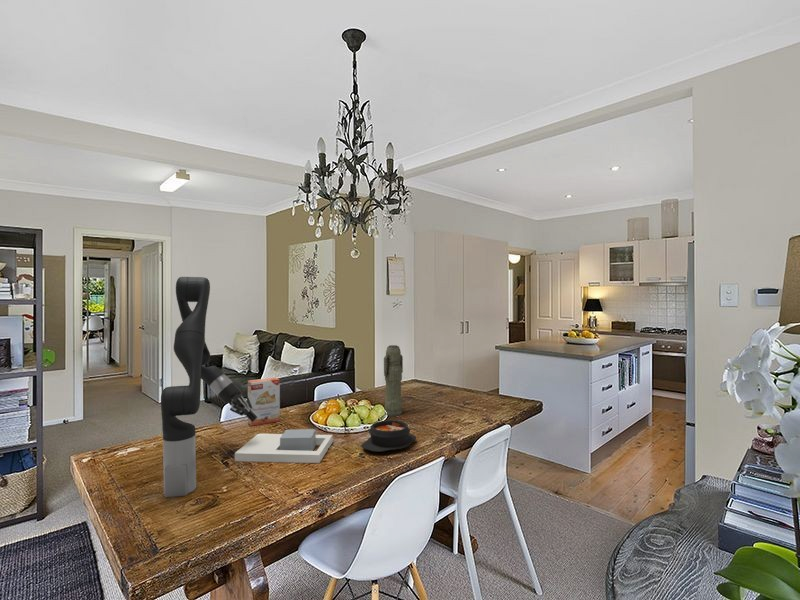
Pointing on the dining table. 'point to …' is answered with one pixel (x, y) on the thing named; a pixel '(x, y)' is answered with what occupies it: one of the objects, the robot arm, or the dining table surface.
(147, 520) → the dining table surface
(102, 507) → the dining table surface
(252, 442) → the hole deck
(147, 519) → the dining table surface
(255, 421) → the cracker box
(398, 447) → the casserole
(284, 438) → the slate block
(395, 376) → the stone statue
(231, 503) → the dining table surface
